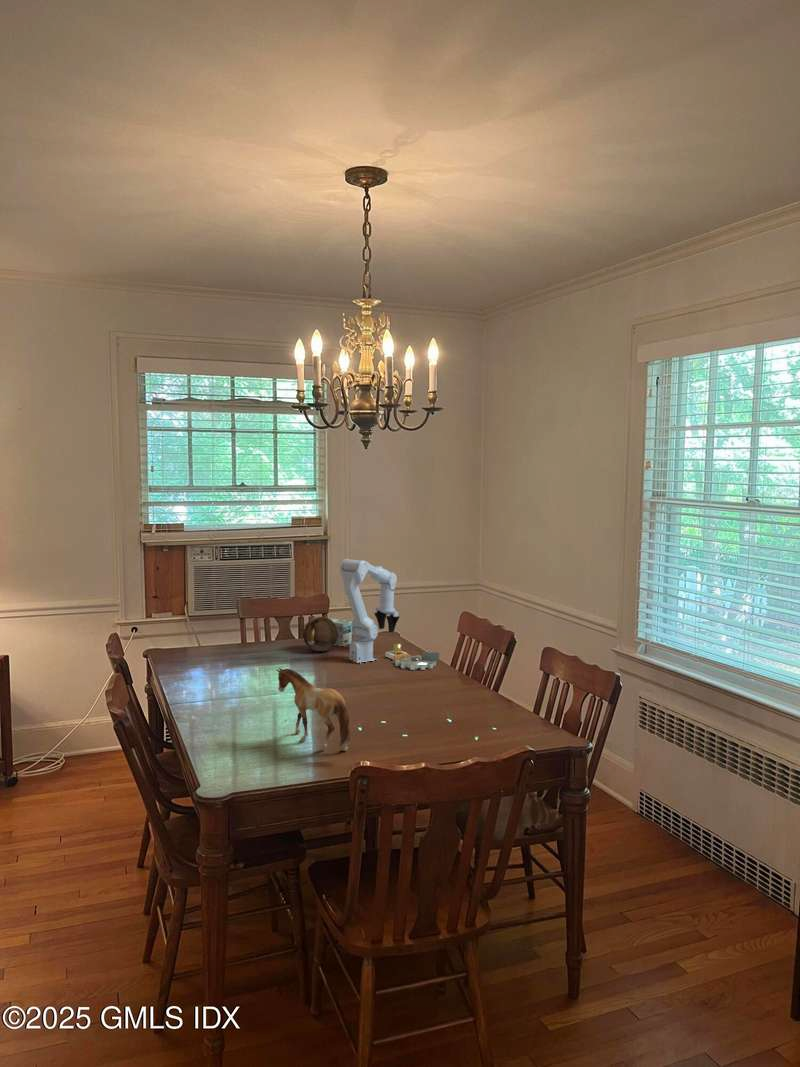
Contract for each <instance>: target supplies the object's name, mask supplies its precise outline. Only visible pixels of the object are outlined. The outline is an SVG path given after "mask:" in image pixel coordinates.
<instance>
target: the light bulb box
mask: <svg viewBox="0 0 800 1067" xmlns="http://www.w3.org/2000/svg"><path fill="white" fill-rule="evenodd" d="M330 620H332V621H333V622H334V624H335V625H336V627H337V630H338V638H337V641H336V643H335V644H336V645H342V646H344V645H347V644H350V643H351V642H352V641H353V638H352V637H353V634H352V626H351V623H352V622H353V620H352V621H350V620H343V619H338V618H337V619H336V618H331V619H330ZM344 647H345V646H344Z"/></svg>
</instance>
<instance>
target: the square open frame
mask: <svg viewBox="0 0 800 1067" xmlns="http://www.w3.org/2000/svg"><path fill="white" fill-rule="evenodd" d="M406 655H410V654H409V653H408V652H405V651H402V650H401V654H399V655H394V650H392V651H391V650H390V651H386V652H385V658H386V657H388V658H387V659H389V658H391V659H393V660H392V661H394V660H395V659H396V658H399V656H404V657H405V656H406ZM391 659H390V660H391Z"/></svg>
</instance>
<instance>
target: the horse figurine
mask: <svg viewBox="0 0 800 1067" xmlns="http://www.w3.org/2000/svg"><path fill="white" fill-rule="evenodd" d="M275 670H276V671H277V672H278V677H277V679H278V687H277V689H278V691H279V692H280V693H283V692H284V691H285V689H286V687H287V686H288V685H289V684H291V686H292V688H293V691H294V692H295V693H294V698H293V700H294V704H295V706H296V707H297V709H298V712H299V713H298V714H297V719H296V723H295V735H296V734H299V733H300V732H301V728H300V722H301V719H302V725H303V729H304V732H303V736H301V738H300V739H299V742H300V743H305V742H306V741H307V737H308V736H309V734H308V733H309V732H308V717H307V715H308V714H307V711H308V710H309V711H313V712H317V713H318V715H319V716H320V717H321V719H322V721H323V723H324V724H325V725H326V726H327V732H326V735H325V736H324V737H323V739H322V744H321V750H323V751H324V750H325V749H326V748H327V747H328V746H327V742H328V741H329V738H330V736H331V734H332V733H333V732H334V730H335V728H336V727H335V725H334V723H332V720H331V719H330V718H331V716H333V715H335V716H337V720H338V722H339V734H340V742H339V743H340V744H339V747H341V748H340V751H341V752H344V751H345V752H347V750H348V745H349V741H350V737H351V730H350V728H351V726H350V716H349V711H348V709H347V707H346V700H345V699H344V697H343V695H342V694H341V693H340V692H338V691H337V690H335V689H334V688H330V687H329V688H319V687H316V686H314V685H313V684H311V683H310V682H309V681H308V680H307V679H306V678H304V677H303V675H301V674H300V673H299V672H297V671H295V670H293V669H290V668H285V669H284V668H283V669H282V668H281V667H280V668H278V669H277V668H276V669H275Z"/></svg>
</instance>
